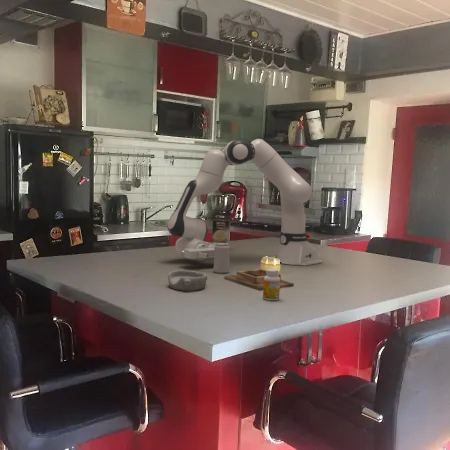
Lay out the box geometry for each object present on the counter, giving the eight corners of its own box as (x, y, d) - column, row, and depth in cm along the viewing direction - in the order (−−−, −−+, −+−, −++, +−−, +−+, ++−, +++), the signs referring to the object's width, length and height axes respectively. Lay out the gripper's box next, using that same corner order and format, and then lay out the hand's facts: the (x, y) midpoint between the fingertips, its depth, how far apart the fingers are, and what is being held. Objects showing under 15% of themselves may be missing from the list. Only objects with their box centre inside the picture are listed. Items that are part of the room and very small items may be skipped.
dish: (191, 294, 172) (192, 279, 171) (159, 287, 179) (159, 273, 179) (215, 286, 184) (215, 273, 184) (184, 281, 191) (184, 268, 191)
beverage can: (227, 274, 206) (228, 244, 205) (211, 273, 208) (212, 243, 206) (230, 271, 213) (231, 242, 211) (215, 270, 214) (216, 241, 213)
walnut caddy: (256, 275, 207) (257, 266, 206) (293, 286, 189) (294, 276, 189) (224, 278, 198) (224, 269, 197) (259, 290, 180) (260, 280, 179)
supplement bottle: (261, 296, 171) (262, 268, 170) (277, 297, 171) (278, 268, 170) (264, 300, 166) (265, 271, 165) (280, 301, 166) (282, 271, 165)
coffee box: (211, 250, 268) (212, 219, 267) (212, 248, 275) (213, 218, 273) (228, 251, 268) (229, 220, 266) (229, 249, 274) (230, 219, 272)
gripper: (178, 244, 218) (195, 249, 207) (218, 242, 229) (236, 246, 218) (178, 259, 219) (195, 264, 207) (218, 256, 230) (236, 261, 219)
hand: (216, 255), depth 213 cm, fingers open, 8 cm apart
